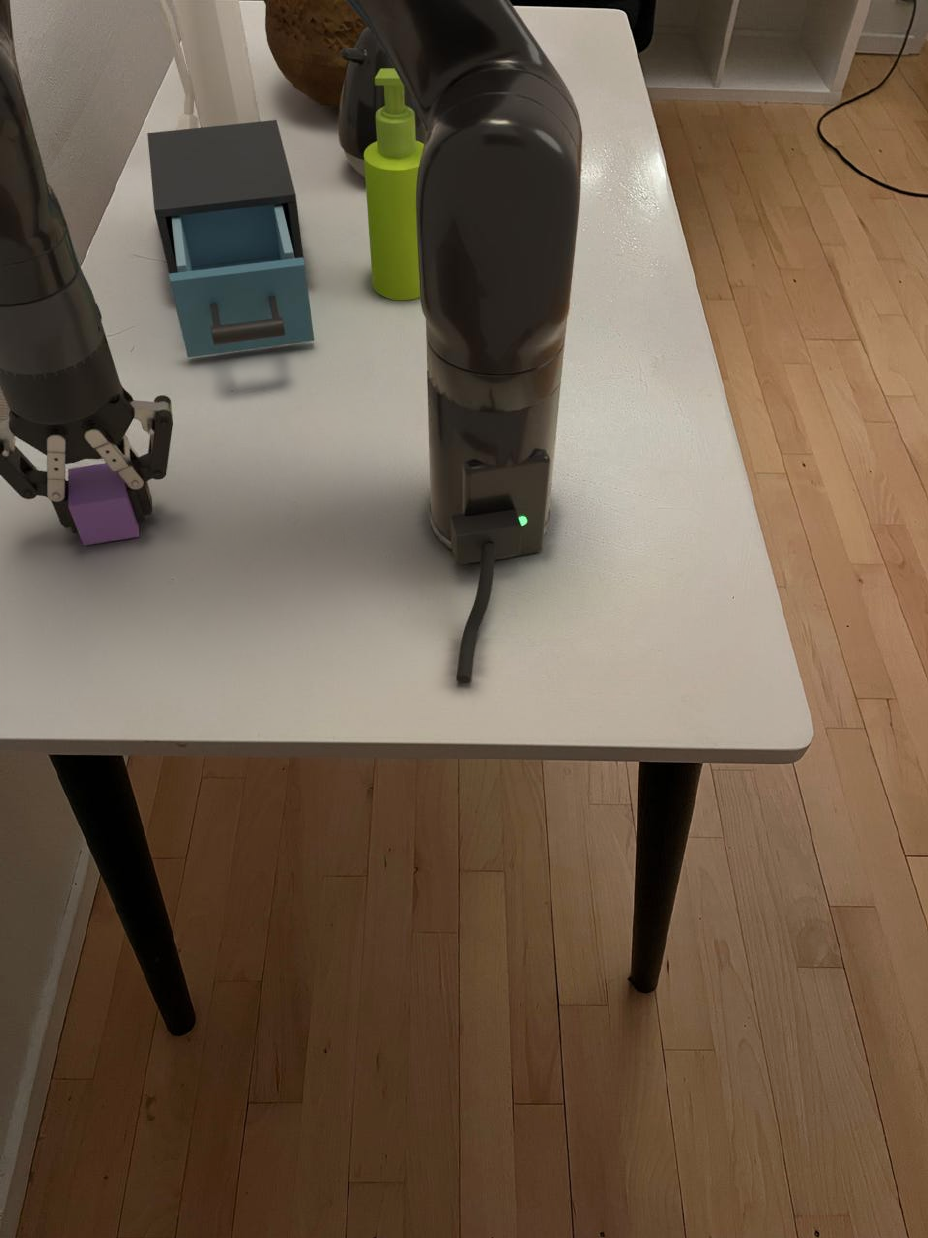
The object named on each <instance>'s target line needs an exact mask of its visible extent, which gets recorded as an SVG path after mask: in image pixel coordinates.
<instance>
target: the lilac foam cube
mask: <svg viewBox="0 0 928 1238" xmlns="http://www.w3.org/2000/svg"><path fill="white" fill-rule="evenodd" d="M67 476H68V477H67V480H68V507H69V510H70V512H71V515H72V517H73V520H74V522H75V525H76V527H77V530H78V532H79V533H78V535H79V537H80V540H81V542H82V545H83V546H89V545H96V544H102V543H109V542H115V541H119V540H120V541H121V540H127V539H131V538H132V539H133V538H139V537H140V523H137V520H136V517H135V514H134V511H133V508H132V505H131V502H130V499H129V496H128V493H127V484H126V483H125V482H124V481H123V479H122V478H121V477H120V475H119V474H118V473H117V472H115V473H114V472H113V471H112V470H111V468H110V467H109V466H108V465H107V463H106V462H104V463H98V464H92V465H86V466H78V467H71V468H68V470H67Z"/></svg>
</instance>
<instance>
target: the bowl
mask: <svg viewBox="0 0 928 1238" xmlns="http://www.w3.org/2000/svg"><path fill="white" fill-rule="evenodd" d="M263 3H264V5H265V8H264V9H265V10H264V12H265V14H264V15H265V16H264V31H265V37H266V42H267V46H268V48H269V51H270V53H271V56H272V58H273V60H274V62H275V64H276V65H277V68H278V70H279V71H280V72H281V74H282V75H283V76H284V78H285V79H286V80H287V81H288V82H289V83H290V84H291V85H292V87H294V89H296V90H297V91H299V92H300V93H302V94H304V95H305V96H306V97H308V98H310V99H311V101H314V103H317V104H319V105H320V106H324V107H329V108H335V109H339V106H340V96H341V90H342V84H343V79H344V74H345V70H346V66H347V62H348V60H344V59H342V57H341V50H342V49H343V48H352V47H353V45H354V43H355V41H356V39H357V37H358V36H359V34H360V33H361V32H362V31H363V30H364V29H365V28H366V27H367V25H366V24H365V23H364V21H363V20H362V19H361V17H360V16H359V15H358V14H357V13H356V12H355V11H354V10H353V8H352V7H351V6H350V5H349V4H348V3H347V2H346V1H345V0H263Z"/></svg>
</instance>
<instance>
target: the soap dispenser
mask: <svg viewBox="0 0 928 1238" xmlns="http://www.w3.org/2000/svg"><path fill="white" fill-rule="evenodd" d="M375 85H381V86H384V97H385V106H384V107H382V108H380V109H379V110H378V111H377V112H376V130H377V142H374V143H372V144H371V145H369V146H368V147H367V148H366V150H365V151H364V165H365V177H364V178H365V192H366V193H365V194H366V207H367V208H366V209H367V219H368V221H367V223H368V234H369V235H368V236H369V250H370V263H371V264H370V265H371V278H372V287H373V290H374V291H375V292H376V293H377V294H378V295H379V296H381V297H383V298H386V299H389V300H394V301H411V300H415V299H418V298H419V299H420V281H419V263H418V244H417V221H416V184H417V174H418V168H419V164H420V160H421V155H422V151H423V147H424V144H423V143H421V142H419V141H416V136H415V113H414V111H413V110H412V109H411V108H409V107H407V106H405V99H404V85H403V83H402V81H401V80H400V78H399V76H398V74H397V72H396V71H395V69H380V70H379V72H378V74H377V76H376V77H375Z"/></svg>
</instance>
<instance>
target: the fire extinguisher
mask: <svg viewBox="0 0 928 1238" xmlns="http://www.w3.org/2000/svg"><path fill="white" fill-rule="evenodd" d="M154 1H155V3H156V5H157V8H158V11H159V13H160V15H161V17H162V21H163V24H164V27H165V28H164V29H165V31H166V35H167V38H168V41H169V44H170V47H171V51H172V54H173V55H172V56H173V59H174V62H175V65H176V69H177V71H178V72H177V73H178V75H179V79H180V82H181V86H182V89H183V92H184V106H183V107H184V108H183V114H181V115H180V116H179V117H178V120H177V125H176V129H175V130H183V129H193V128H199V126H200V128H202V127H212V126H222V125H232V124H241V123H251V122H261V117H260V112H259V107H258V105H259V104H258V100H257V94H256V89H255V84H254V78H253V71H252V67H251V61H250V56H249V50H248V44H247V38H246V33H245V29H244V22H243V17H242V12H241V11H242V10H241V6H240V0H171V1H172V5H173V10H174V15H175V19H176V23H177V28H178V32H179V36H178V32H177V28H176V25H175V22H174V19H173V15H172V11H171V10H170V7H169V4H168V3H167V0H154ZM179 37H180V39H179ZM180 41H181V42H180ZM195 108H196V113H197V116H196V115H195V114H194V112H195V110H194V109H195Z"/></svg>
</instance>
